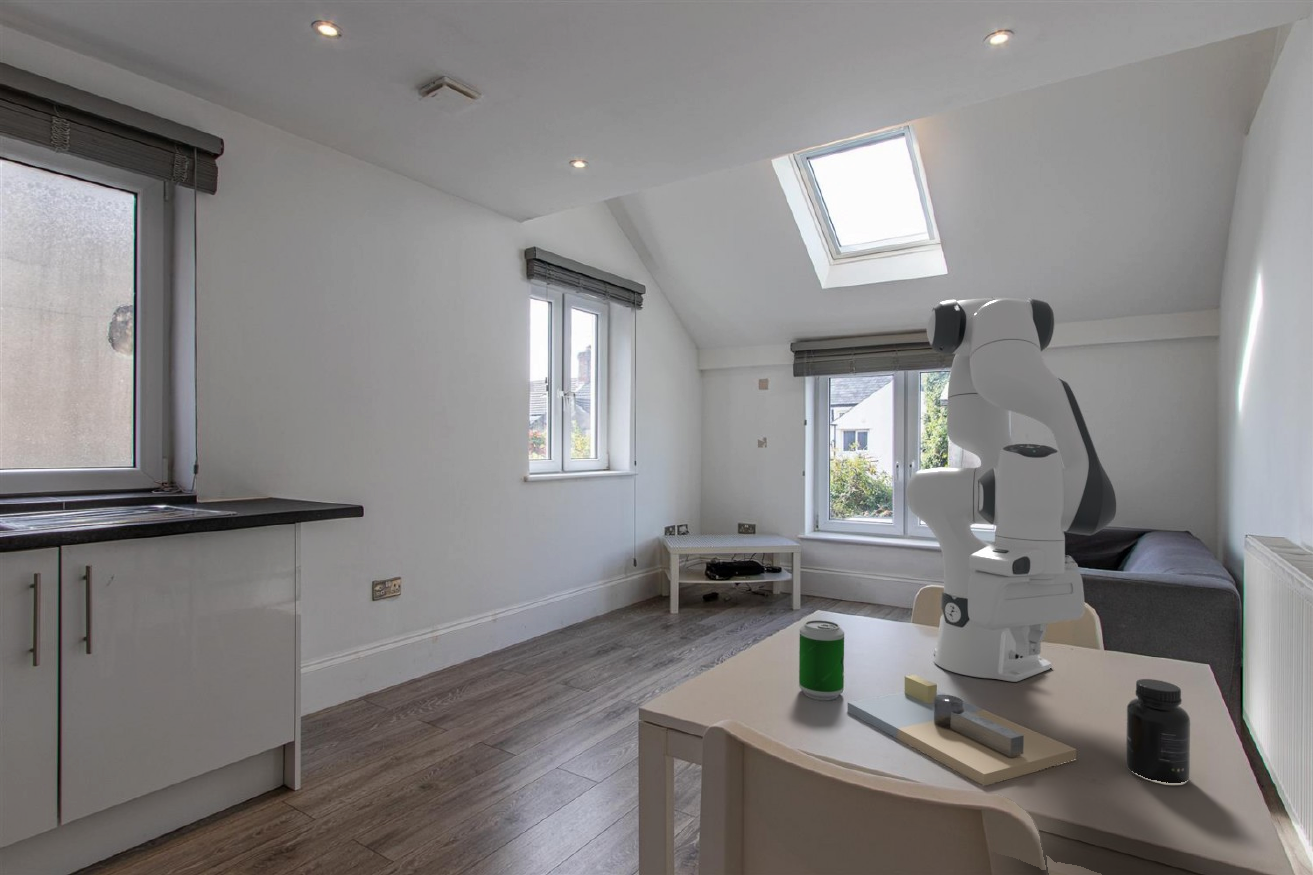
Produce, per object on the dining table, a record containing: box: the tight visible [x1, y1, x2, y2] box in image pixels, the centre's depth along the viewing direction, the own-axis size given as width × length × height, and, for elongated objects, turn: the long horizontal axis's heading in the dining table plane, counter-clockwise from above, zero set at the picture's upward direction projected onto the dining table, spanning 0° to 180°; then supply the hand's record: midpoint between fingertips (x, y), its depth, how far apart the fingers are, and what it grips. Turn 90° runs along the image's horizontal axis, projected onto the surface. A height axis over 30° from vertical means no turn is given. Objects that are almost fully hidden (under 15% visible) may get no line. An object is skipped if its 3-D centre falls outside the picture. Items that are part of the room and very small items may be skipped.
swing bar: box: [934, 694, 1024, 757], centre depth 98 cm, size 14×4×4 cm, turn 25°
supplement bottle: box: [1125, 678, 1191, 783], centre depth 91 cm, size 7×7×12 cm
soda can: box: [798, 619, 845, 701], centre depth 118 cm, size 8×8×12 cm
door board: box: [847, 674, 1077, 787], centre depth 103 cm, size 18×26×4 cm
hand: (1027, 654), depth 97 cm, fingers closed
